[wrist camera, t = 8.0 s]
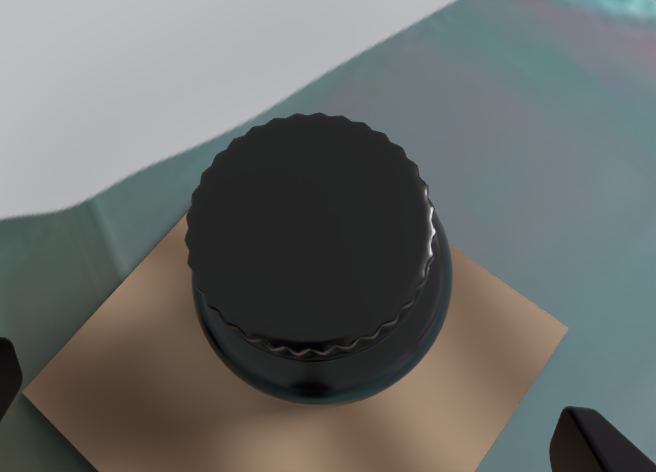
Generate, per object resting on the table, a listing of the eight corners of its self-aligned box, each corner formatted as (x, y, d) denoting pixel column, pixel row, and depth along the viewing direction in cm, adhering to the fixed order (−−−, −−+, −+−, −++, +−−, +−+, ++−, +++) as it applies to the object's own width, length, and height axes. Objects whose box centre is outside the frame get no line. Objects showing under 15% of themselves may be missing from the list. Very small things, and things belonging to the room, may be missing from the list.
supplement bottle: (218, 322, 21) (49, 236, 9) (325, 207, 22) (294, 6, 10) (342, 438, 19) (324, 509, 8) (448, 306, 20) (571, 195, 9)
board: (323, 685, 17) (322, 702, 16) (36, 392, 21) (21, 392, 20) (558, 331, 21) (568, 328, 20) (275, 130, 24) (272, 119, 23)
